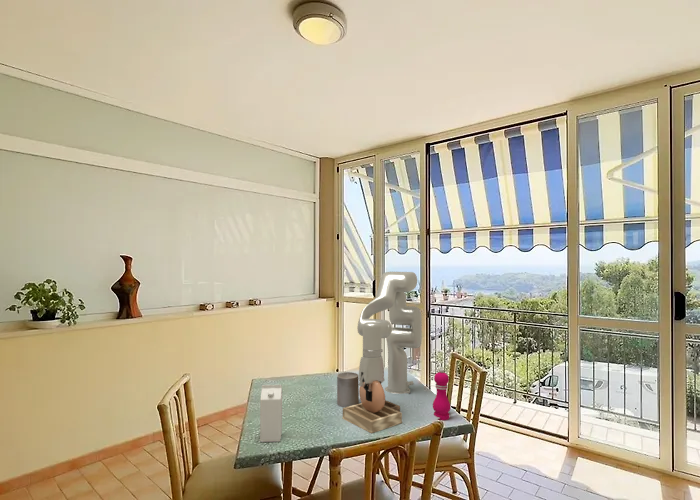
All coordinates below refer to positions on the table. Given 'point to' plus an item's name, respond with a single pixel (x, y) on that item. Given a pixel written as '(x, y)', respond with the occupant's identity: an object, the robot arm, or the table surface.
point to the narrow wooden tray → (392, 405)
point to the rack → (372, 417)
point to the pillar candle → (347, 389)
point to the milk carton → (271, 413)
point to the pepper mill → (441, 396)
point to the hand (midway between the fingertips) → (371, 399)
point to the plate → (373, 397)
